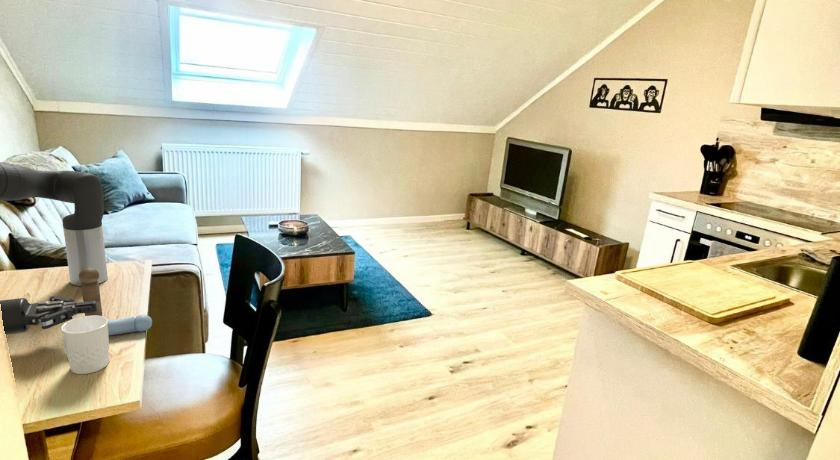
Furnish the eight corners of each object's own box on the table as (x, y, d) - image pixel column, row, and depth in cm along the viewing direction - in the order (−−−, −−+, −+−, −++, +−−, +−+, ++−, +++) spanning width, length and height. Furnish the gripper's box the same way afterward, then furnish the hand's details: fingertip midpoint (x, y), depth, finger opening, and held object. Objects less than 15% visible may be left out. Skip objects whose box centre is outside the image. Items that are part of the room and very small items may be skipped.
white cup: (77, 381, 91) (71, 337, 89) (60, 366, 95) (54, 324, 92) (119, 364, 98) (115, 323, 95) (101, 351, 102) (97, 311, 99)
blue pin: (84, 319, 107) (151, 310, 113) (86, 335, 108) (152, 325, 115) (82, 328, 103) (151, 317, 110) (84, 343, 104) (152, 333, 111)
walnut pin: (84, 315, 116) (78, 266, 112) (104, 312, 118) (99, 264, 115) (83, 322, 113) (76, 272, 109) (103, 319, 115) (97, 270, 111)
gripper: (-13, 315, 90) (92, 302, 99) (3, 290, 101) (97, 280, 110) (-7, 348, 92) (96, 333, 101) (8, 320, 103) (100, 308, 112)
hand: (96, 305), depth 105 cm, fingers closed
